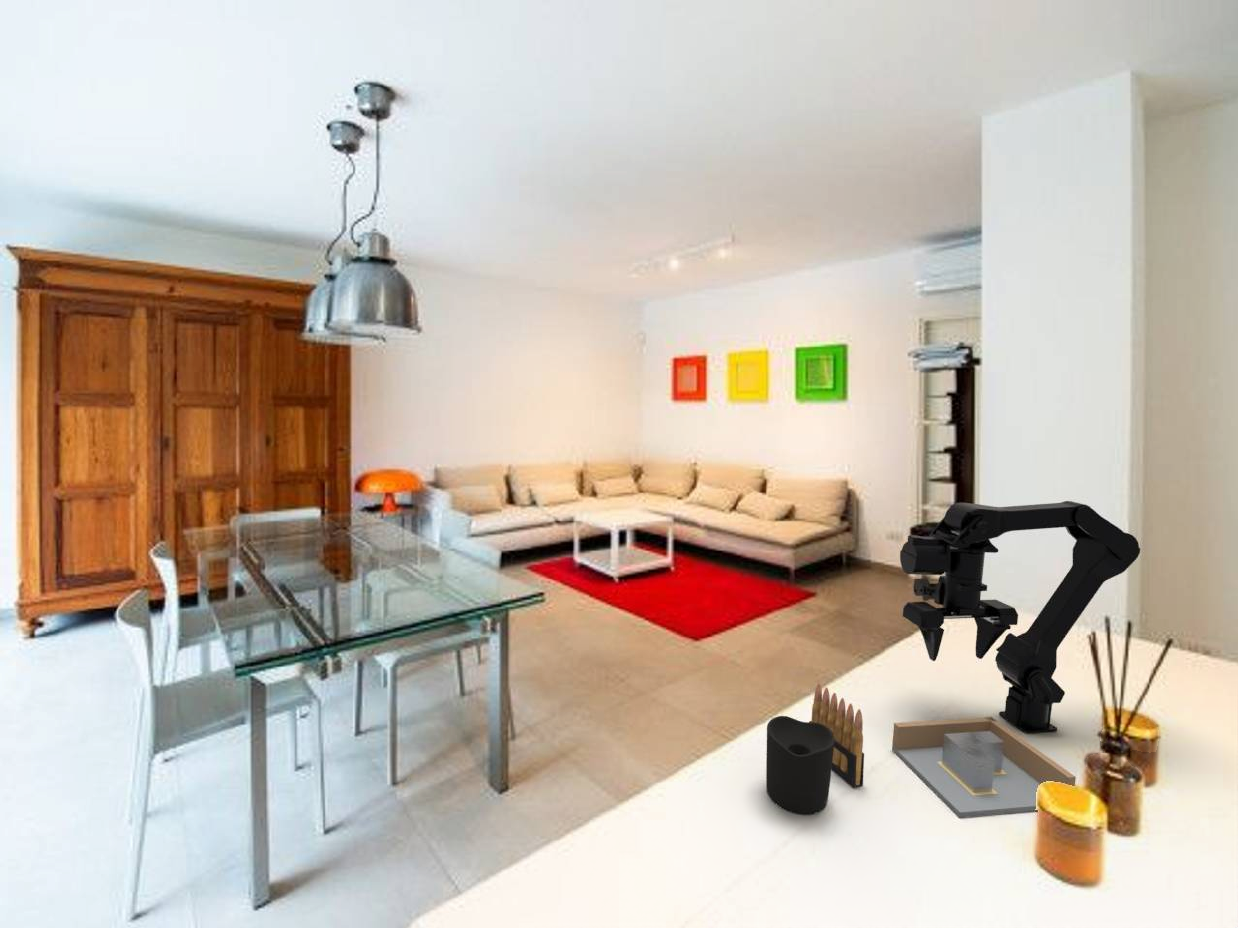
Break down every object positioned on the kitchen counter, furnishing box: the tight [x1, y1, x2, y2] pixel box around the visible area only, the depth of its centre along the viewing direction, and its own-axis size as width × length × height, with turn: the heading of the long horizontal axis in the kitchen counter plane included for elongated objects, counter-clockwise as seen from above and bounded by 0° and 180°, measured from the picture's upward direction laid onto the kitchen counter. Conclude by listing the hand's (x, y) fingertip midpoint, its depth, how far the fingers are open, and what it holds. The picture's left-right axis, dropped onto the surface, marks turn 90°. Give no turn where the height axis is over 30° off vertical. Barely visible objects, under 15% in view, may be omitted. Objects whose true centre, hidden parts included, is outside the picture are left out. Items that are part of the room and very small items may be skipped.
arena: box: [891, 716, 1077, 819], centre depth 92 cm, size 18×16×5 cm
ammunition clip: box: [808, 682, 865, 789], centre depth 94 cm, size 11×2×12 cm, turn 22°
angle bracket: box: [942, 731, 1004, 793], centre depth 91 cm, size 7×8×5 cm
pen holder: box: [765, 715, 835, 816], centre depth 86 cm, size 9×9×10 cm
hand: (955, 658), depth 107 cm, fingers open, 9 cm apart
